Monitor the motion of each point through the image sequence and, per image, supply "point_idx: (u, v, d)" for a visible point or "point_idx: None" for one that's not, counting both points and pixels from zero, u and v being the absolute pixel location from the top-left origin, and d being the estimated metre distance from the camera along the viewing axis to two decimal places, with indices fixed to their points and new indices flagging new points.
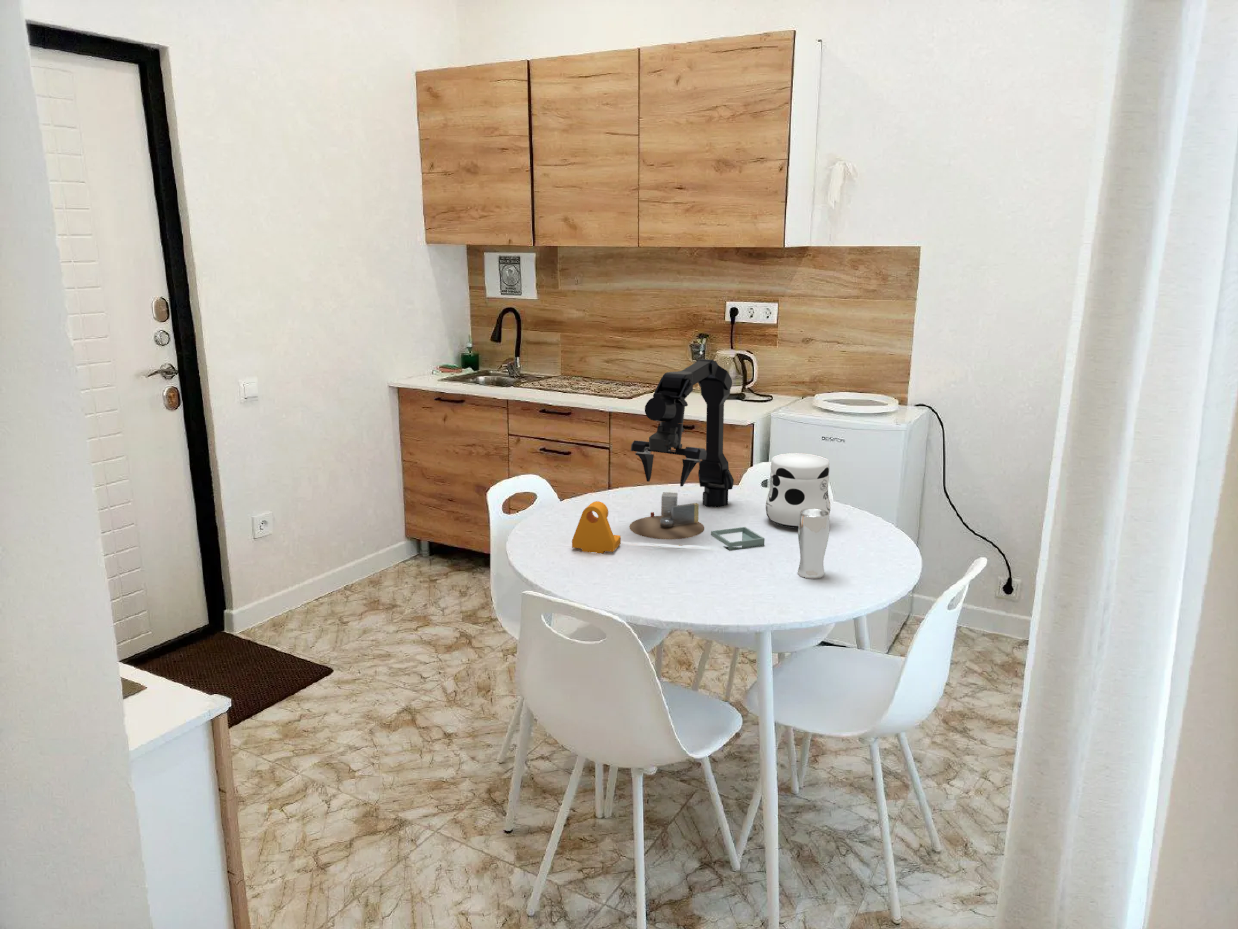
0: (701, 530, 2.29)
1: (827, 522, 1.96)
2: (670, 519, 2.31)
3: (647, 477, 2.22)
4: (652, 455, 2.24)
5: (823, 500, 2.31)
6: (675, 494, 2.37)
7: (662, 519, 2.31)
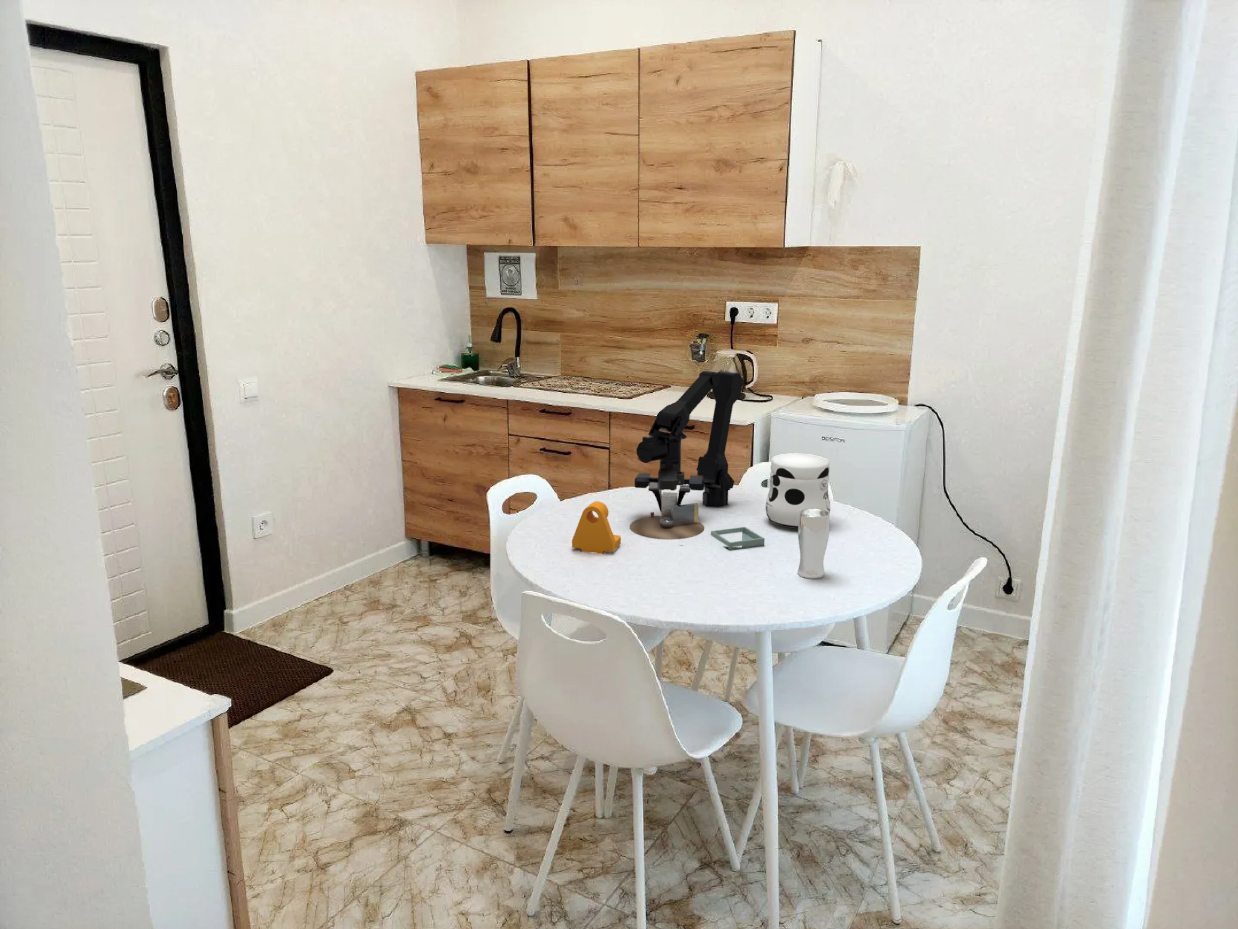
0: (701, 530, 2.29)
1: (827, 522, 1.96)
2: (670, 519, 2.31)
3: None
4: None
5: (823, 500, 2.31)
6: (675, 494, 2.37)
7: (662, 519, 2.31)
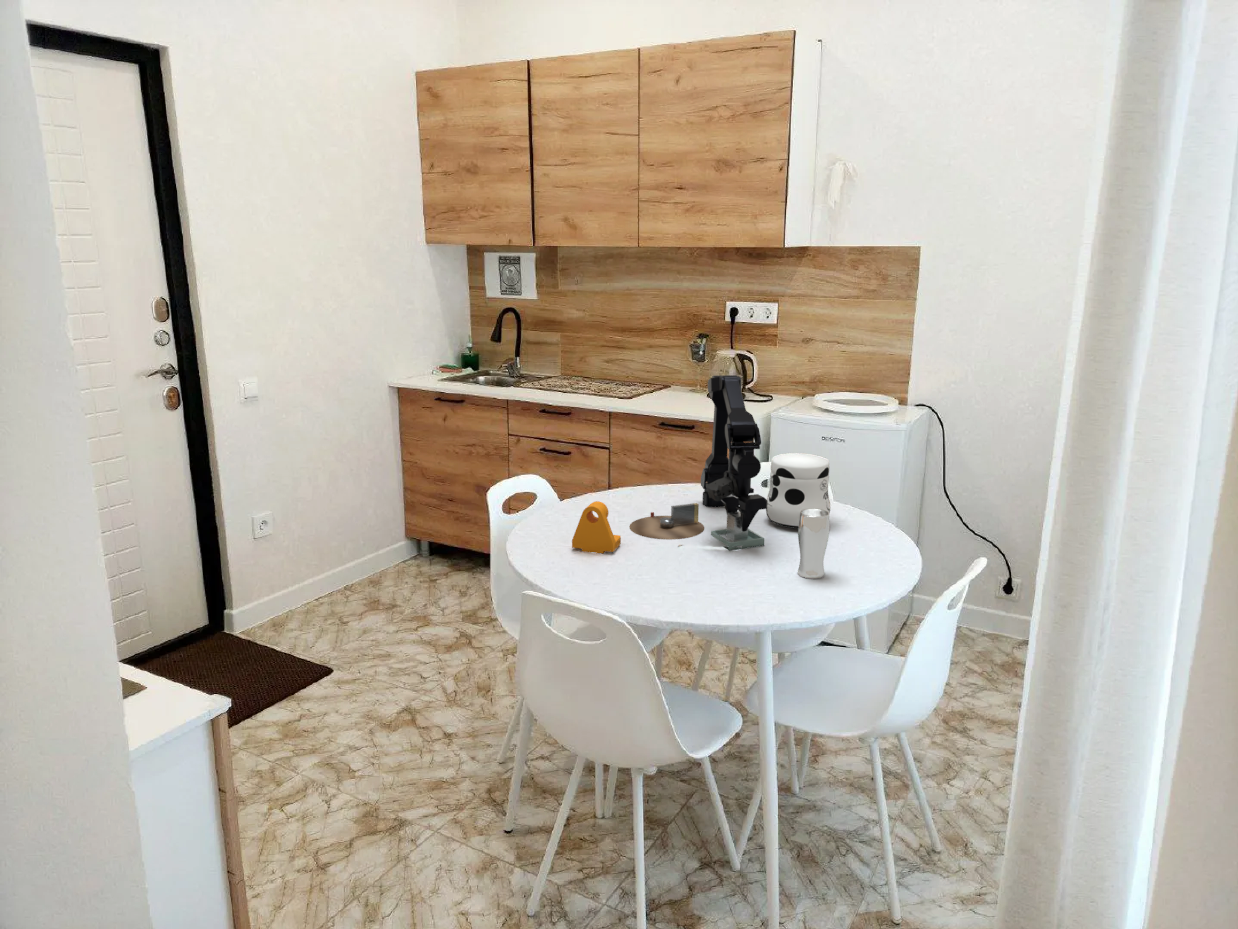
0: (701, 530, 2.29)
1: (827, 522, 1.96)
2: (670, 519, 2.31)
3: None
4: None
5: (823, 500, 2.31)
6: None
7: (662, 519, 2.31)
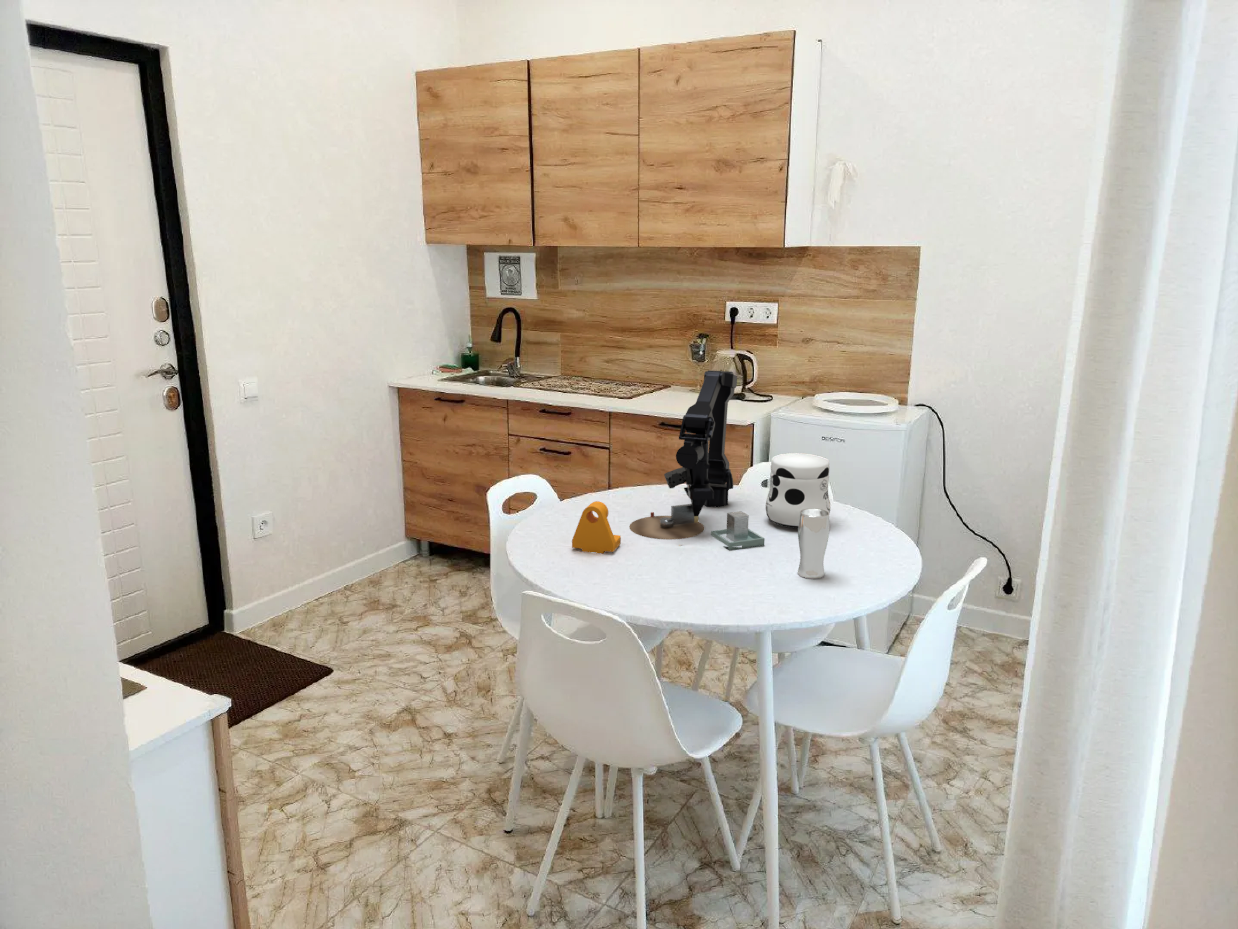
0: (701, 530, 2.29)
1: (827, 522, 1.96)
2: (670, 519, 2.31)
3: (693, 512, 2.31)
4: None
5: (823, 500, 2.31)
6: (741, 515, 2.20)
7: (662, 519, 2.31)
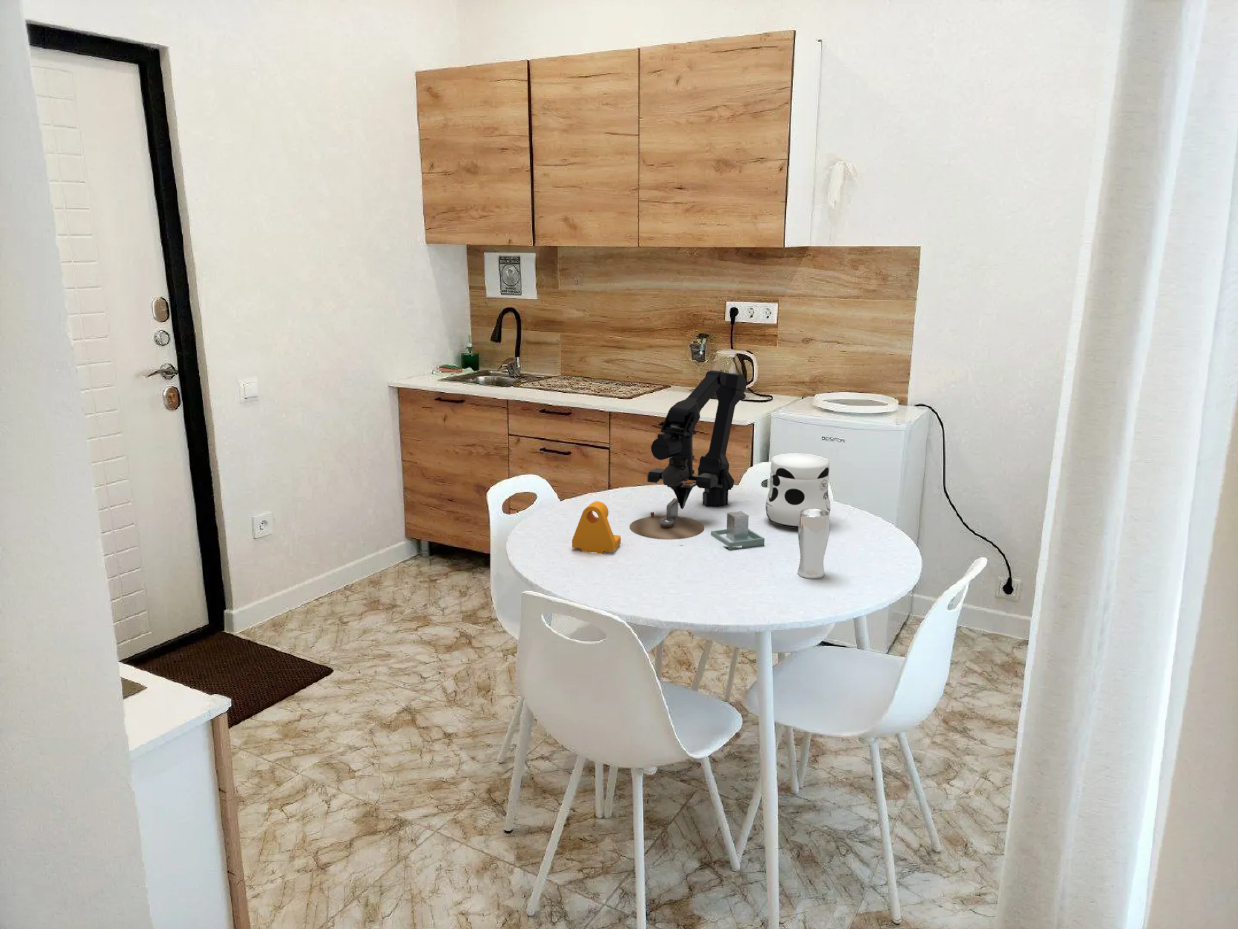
0: (701, 530, 2.29)
1: (827, 522, 1.96)
2: (669, 518, 2.32)
3: (681, 505, 2.36)
4: None
5: (823, 500, 2.31)
6: (741, 515, 2.20)
7: (664, 520, 2.30)
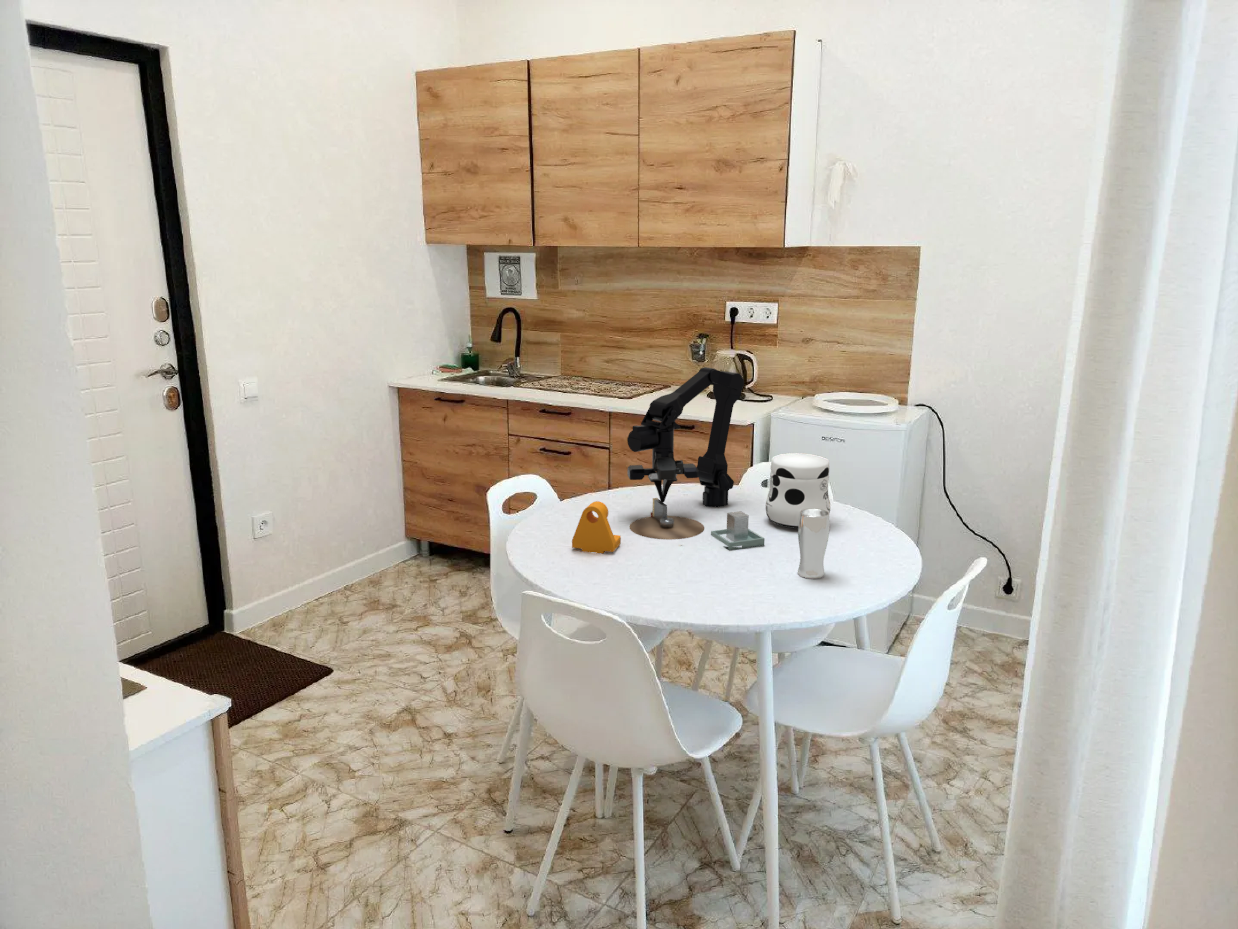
0: (701, 530, 2.29)
1: (827, 522, 1.96)
2: (666, 518, 2.32)
3: (661, 498, 2.37)
4: None
5: (823, 500, 2.31)
6: (741, 515, 2.20)
7: (667, 520, 2.30)
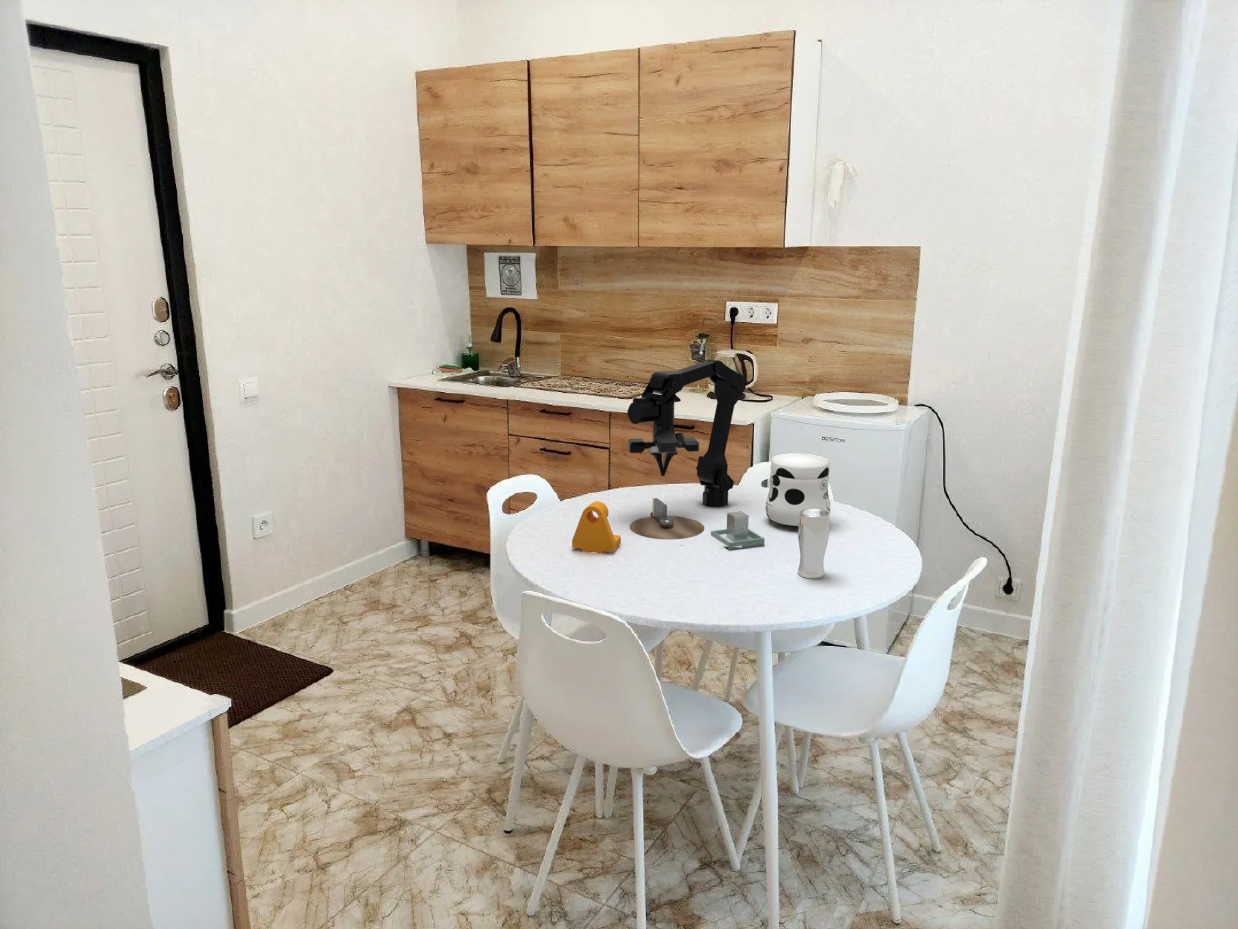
0: (701, 530, 2.29)
1: (827, 522, 1.96)
2: (666, 518, 2.32)
3: (662, 472, 2.36)
4: None
5: (823, 500, 2.31)
6: (741, 515, 2.20)
7: (667, 520, 2.30)
